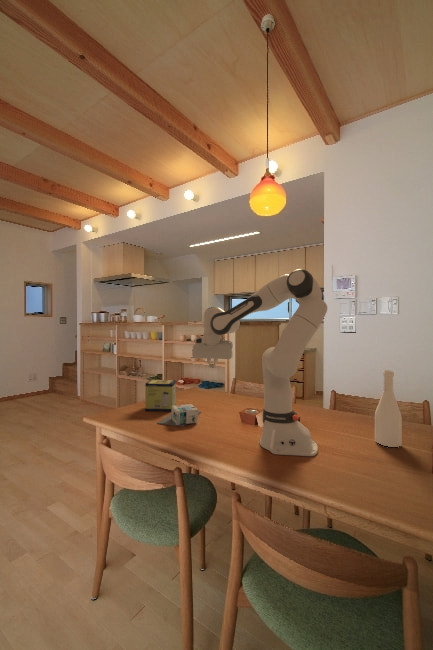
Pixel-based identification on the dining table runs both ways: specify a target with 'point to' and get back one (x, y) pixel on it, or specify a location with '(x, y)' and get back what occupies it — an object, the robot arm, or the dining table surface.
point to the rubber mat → (171, 421)
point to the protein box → (160, 395)
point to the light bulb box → (184, 414)
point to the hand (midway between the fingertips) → (212, 367)
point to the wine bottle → (388, 415)
